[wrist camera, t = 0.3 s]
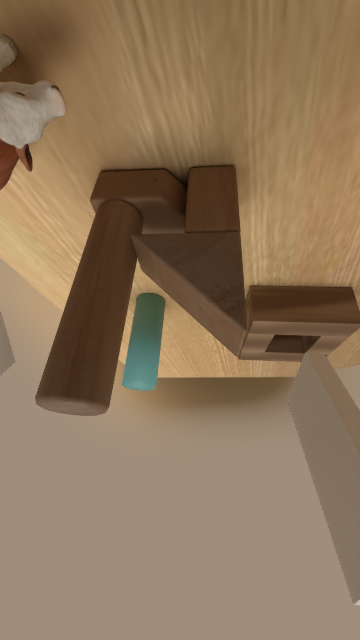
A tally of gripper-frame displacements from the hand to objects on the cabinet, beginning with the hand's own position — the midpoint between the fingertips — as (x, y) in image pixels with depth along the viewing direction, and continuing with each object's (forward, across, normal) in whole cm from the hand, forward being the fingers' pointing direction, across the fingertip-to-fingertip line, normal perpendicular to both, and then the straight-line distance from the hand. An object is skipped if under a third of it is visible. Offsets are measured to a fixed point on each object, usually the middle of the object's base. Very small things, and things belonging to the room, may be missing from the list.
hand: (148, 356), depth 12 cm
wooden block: (+15, -2, +6) cm, 16 cm away
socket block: (+25, +14, -9) cm, 30 cm away
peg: (+24, -4, -9) cm, 26 cm away
